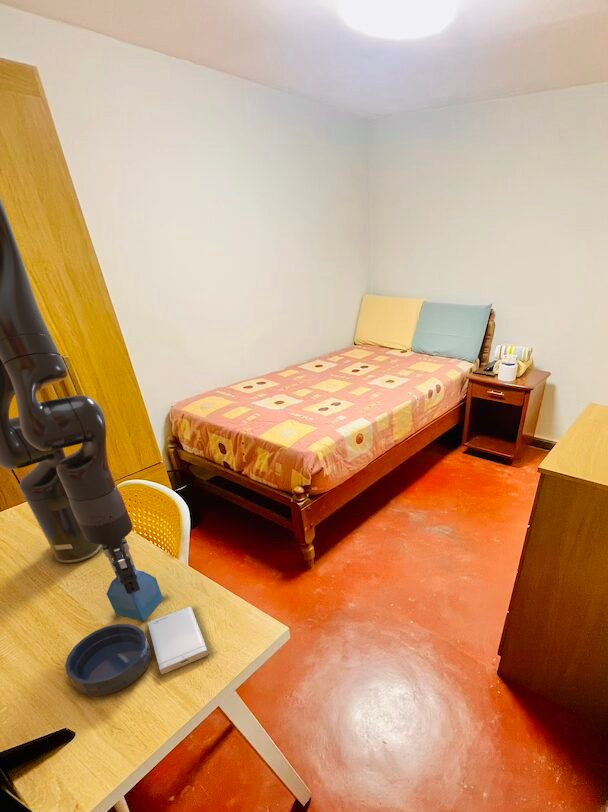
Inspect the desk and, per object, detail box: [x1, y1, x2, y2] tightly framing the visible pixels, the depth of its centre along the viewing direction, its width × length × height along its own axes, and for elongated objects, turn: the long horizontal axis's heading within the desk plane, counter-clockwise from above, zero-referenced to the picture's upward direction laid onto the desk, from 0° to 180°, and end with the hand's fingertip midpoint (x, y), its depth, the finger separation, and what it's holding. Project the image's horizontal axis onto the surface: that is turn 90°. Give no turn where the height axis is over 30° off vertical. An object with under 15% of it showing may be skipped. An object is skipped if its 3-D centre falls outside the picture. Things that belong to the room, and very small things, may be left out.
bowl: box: [64, 623, 152, 697], centre depth 75 cm, size 12×12×4 cm
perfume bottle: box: [106, 563, 164, 622], centre depth 84 cm, size 6×6×12 cm
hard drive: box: [147, 606, 209, 675], centre depth 80 cm, size 2×8×12 cm
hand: (129, 581), depth 83 cm, fingers open, 5 cm apart
